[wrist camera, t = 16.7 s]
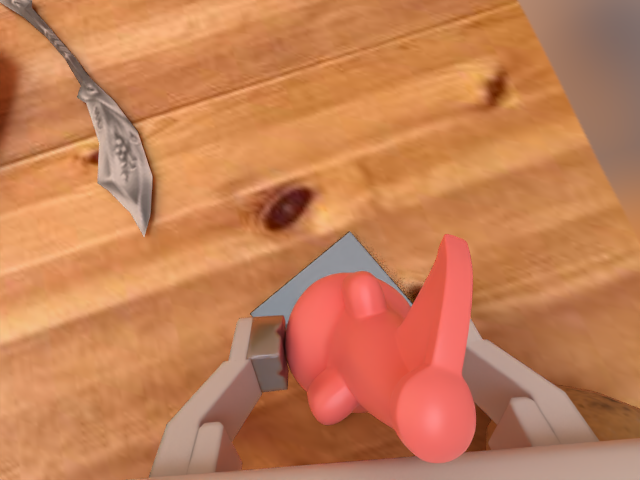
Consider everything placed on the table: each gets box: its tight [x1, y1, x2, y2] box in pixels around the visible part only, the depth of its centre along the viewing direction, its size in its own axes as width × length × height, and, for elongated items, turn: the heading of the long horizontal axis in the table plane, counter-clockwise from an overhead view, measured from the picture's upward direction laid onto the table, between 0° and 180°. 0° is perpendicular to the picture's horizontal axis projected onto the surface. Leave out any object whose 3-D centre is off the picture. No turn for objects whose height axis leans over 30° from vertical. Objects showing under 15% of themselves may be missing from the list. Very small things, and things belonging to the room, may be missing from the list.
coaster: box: [250, 231, 413, 363], centre depth 19 cm, size 8×8×1 cm
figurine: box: [285, 234, 476, 463], centre depth 11 cm, size 5×5×15 cm
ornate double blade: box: [0, 0, 153, 237], centre depth 23 cm, size 32×1×5 cm
